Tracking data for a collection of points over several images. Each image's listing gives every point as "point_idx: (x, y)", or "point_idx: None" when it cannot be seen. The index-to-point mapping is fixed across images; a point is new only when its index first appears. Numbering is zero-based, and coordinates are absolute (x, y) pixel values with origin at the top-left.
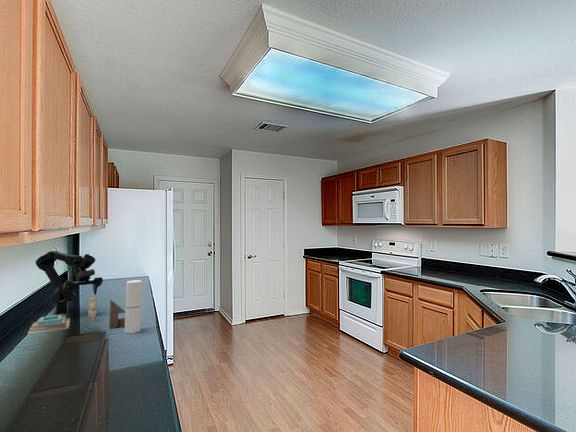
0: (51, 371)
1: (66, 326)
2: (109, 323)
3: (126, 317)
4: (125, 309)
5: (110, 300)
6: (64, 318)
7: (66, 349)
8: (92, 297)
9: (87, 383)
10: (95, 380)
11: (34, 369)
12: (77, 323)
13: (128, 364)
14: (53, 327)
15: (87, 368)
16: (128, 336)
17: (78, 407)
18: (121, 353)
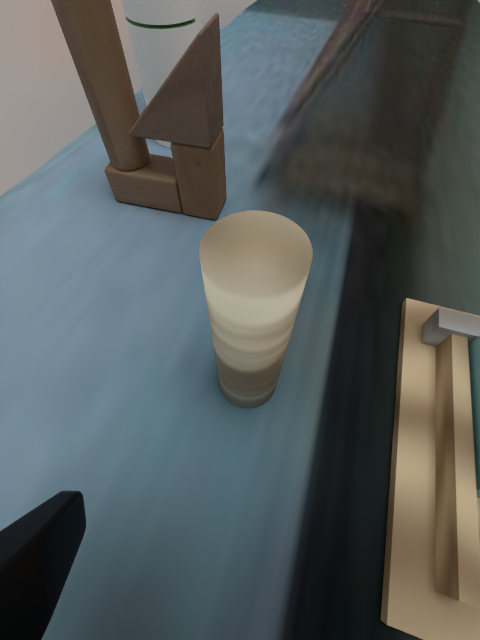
0: (439, 56)
1: (419, 341)
2: (218, 200)
3: None
4: (199, 10)
5: (204, 38)
6: (459, 477)
7: (411, 120)
8: (249, 272)
9: (379, 13)
10: (366, 13)
11: (477, 74)
12: (339, 409)
13: (300, 22)
14: None
15: (371, 38)
16: None
17: None
18: (291, 50)
